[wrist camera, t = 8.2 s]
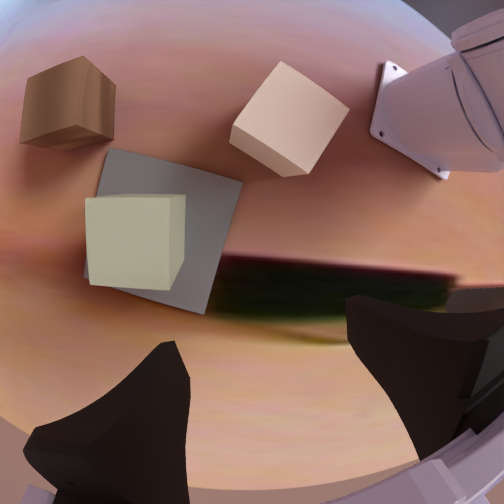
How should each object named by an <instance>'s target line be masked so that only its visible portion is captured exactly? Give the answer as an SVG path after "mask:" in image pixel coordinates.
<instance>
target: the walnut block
mask: <svg viewBox="0 0 504 504" xmlns="http://www.w3.org/2000/svg"><path fill="white" fill-rule="evenodd" d="M115 92H116V85H115V84H114V83H113V82H112V81H111V80H110V79H108V78H107V77H106V76H105V75H104V74H103V73H102V72H101V71H100V70H99V69H98V68H97V67H95V66H94V65H93V64H92V63H91V62H90V61H89V60H88V59H87V58H86V57H85V56H81V57H78V58H76V59H73V60H70V61H67V62H65V63H62V64H60V65H57V66H55V67H52V68H50V69H47V70H45V71H43V72H41V73H38V74H36V75H34V76H32V77H30V78H28V79H27V85H26V90H25V97H24V104H23V112H22V121H21V134H20V144H27V145H33V146H40V147H46V148H52V149H57V150H63V151H67V150H71V149H74V148H78V147H83V146H87V145H91V144H96V143H100V142H105V141H110V140H114V111H115Z"/></svg>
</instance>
